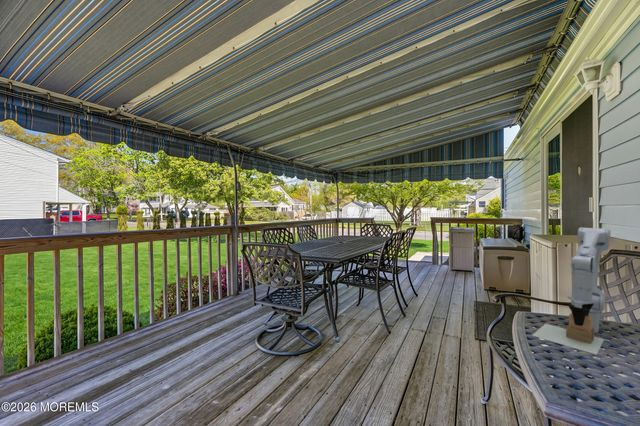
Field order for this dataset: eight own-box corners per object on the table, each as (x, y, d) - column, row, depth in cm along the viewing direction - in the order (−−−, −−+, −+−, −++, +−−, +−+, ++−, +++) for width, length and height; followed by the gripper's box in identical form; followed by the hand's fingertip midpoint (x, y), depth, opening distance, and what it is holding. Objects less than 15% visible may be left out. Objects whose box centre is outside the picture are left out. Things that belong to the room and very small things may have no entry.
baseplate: (545, 325, 123) (545, 323, 123) (604, 341, 109) (604, 339, 109) (531, 337, 110) (531, 335, 110) (596, 356, 96) (596, 354, 96)
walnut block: (569, 332, 114) (570, 322, 114) (593, 339, 109) (594, 328, 109) (565, 337, 110) (566, 326, 110) (590, 344, 104) (591, 333, 104)
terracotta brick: (571, 323, 113) (571, 312, 113) (592, 329, 108) (592, 317, 108) (568, 326, 110) (569, 314, 110) (590, 331, 106) (590, 319, 105)
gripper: (572, 282, 117) (570, 315, 117) (564, 287, 108) (562, 323, 108) (596, 286, 111) (594, 321, 112) (589, 292, 102) (588, 330, 102)
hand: (580, 322), depth 109 cm, fingers open, 7 cm apart
